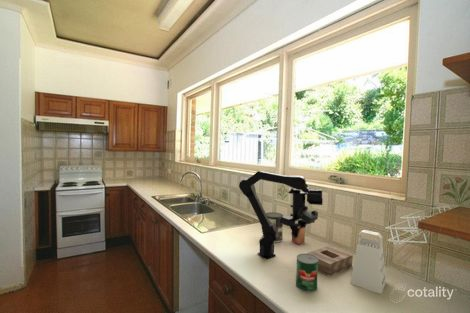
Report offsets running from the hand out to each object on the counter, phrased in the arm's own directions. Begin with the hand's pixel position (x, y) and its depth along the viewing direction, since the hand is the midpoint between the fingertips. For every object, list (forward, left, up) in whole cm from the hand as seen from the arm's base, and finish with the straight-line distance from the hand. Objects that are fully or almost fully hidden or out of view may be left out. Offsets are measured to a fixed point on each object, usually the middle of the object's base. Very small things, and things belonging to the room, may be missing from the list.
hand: (298, 236), depth 113 cm
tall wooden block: (0, 0, -2) cm, 2 cm away
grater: (+10, -28, -11) cm, 31 cm away
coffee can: (+8, +25, -11) cm, 29 cm away
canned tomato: (-13, -17, -11) cm, 24 cm away
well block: (+9, -11, -11) cm, 18 cm away
